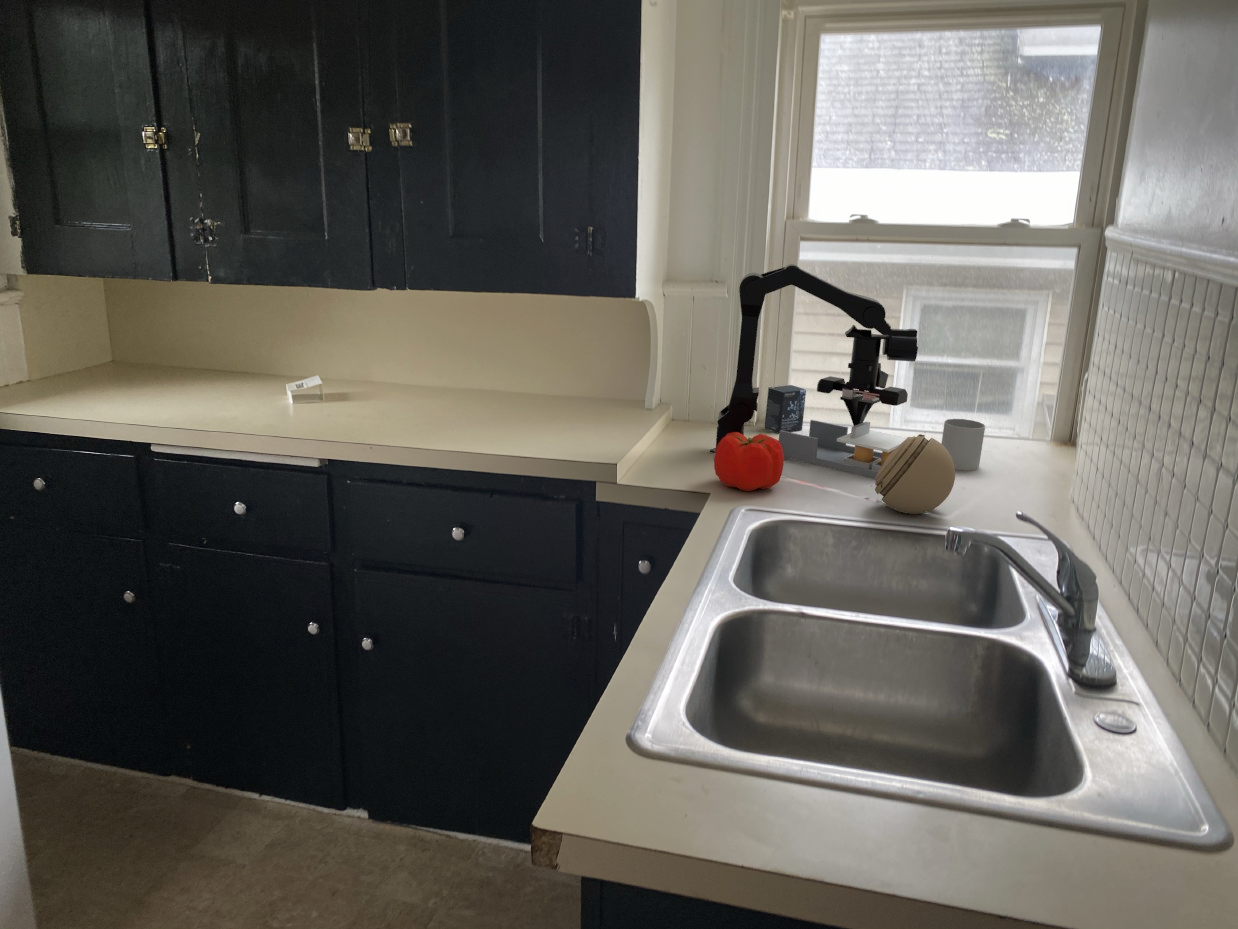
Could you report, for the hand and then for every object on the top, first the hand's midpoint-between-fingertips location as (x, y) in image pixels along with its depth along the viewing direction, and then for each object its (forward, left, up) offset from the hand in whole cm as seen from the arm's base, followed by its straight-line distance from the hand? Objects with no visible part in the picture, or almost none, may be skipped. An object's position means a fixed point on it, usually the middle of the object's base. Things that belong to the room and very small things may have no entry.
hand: (857, 429), depth 210 cm
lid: (-2, -5, -1) cm, 6 cm away
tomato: (-32, +8, -8) cm, 34 cm away
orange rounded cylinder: (-2, -3, -7) cm, 8 cm away
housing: (-2, +1, -8) cm, 8 cm away
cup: (+14, -18, -8) cm, 24 cm away
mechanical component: (-23, -22, -8) cm, 33 cm away
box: (+14, +26, -8) cm, 30 cm away
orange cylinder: (-2, -9, -7) cm, 12 cm away
